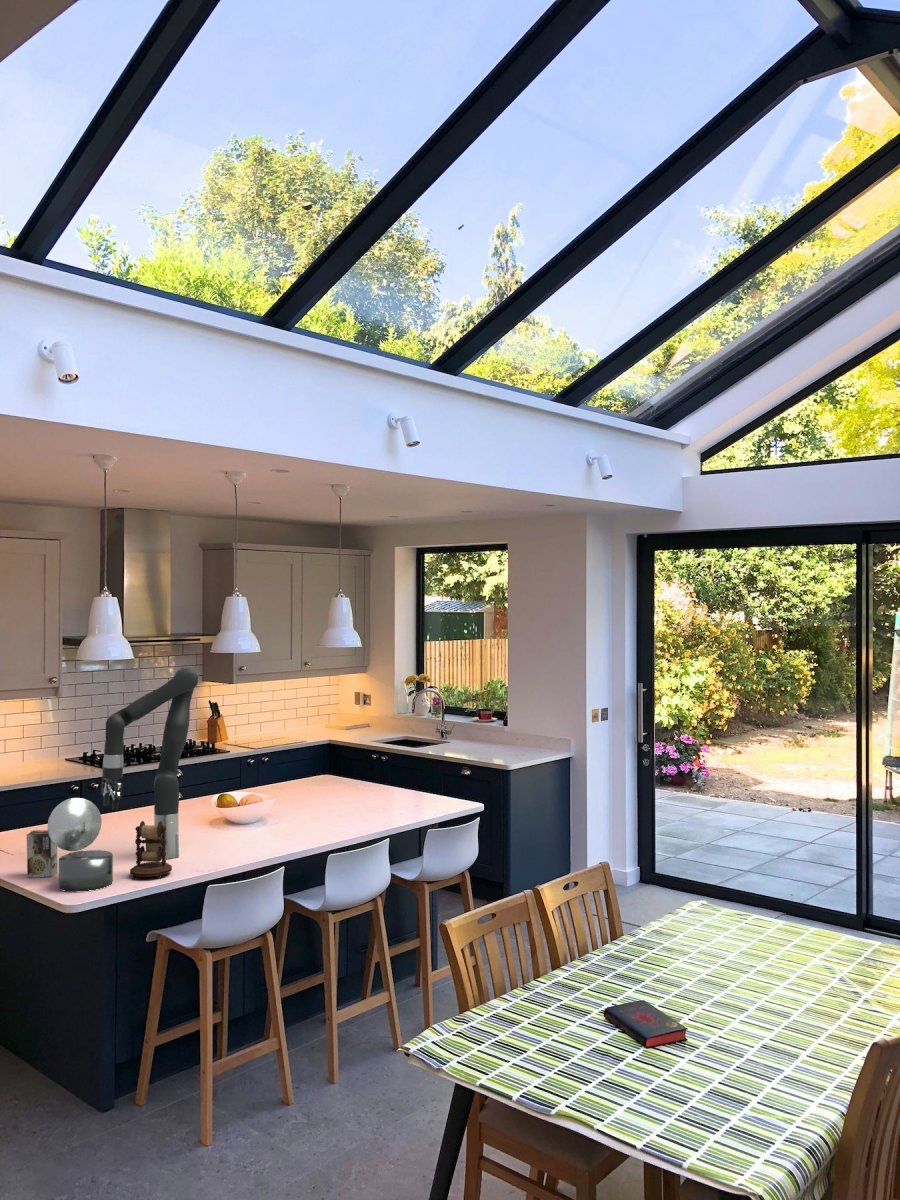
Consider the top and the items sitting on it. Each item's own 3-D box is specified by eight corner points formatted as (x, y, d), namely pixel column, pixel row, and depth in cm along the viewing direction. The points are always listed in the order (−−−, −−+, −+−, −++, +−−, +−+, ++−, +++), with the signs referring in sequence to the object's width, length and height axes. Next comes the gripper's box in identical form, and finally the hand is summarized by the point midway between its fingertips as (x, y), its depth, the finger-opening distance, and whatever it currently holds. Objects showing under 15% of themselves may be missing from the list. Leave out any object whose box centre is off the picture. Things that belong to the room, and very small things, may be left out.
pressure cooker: (50, 883, 344) (50, 855, 345) (100, 873, 356) (100, 847, 356) (69, 895, 330) (69, 866, 330) (120, 885, 341) (120, 857, 341)
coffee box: (58, 872, 359) (57, 829, 359) (51, 877, 352) (51, 833, 352) (33, 873, 358) (33, 829, 358) (26, 877, 352) (26, 833, 352)
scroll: (177, 869, 361) (176, 816, 361) (164, 880, 346) (163, 825, 346) (138, 869, 362) (138, 816, 362) (123, 880, 347) (123, 825, 347)
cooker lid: (49, 855, 344) (47, 854, 346) (102, 846, 356) (99, 845, 358) (47, 801, 345) (45, 801, 347) (100, 794, 357) (97, 794, 360)
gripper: (130, 767, 371) (127, 809, 371) (114, 763, 382) (112, 804, 381) (111, 768, 366) (108, 811, 366) (96, 764, 377) (94, 805, 376)
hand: (110, 807), depth 373 cm, fingers open, 8 cm apart
